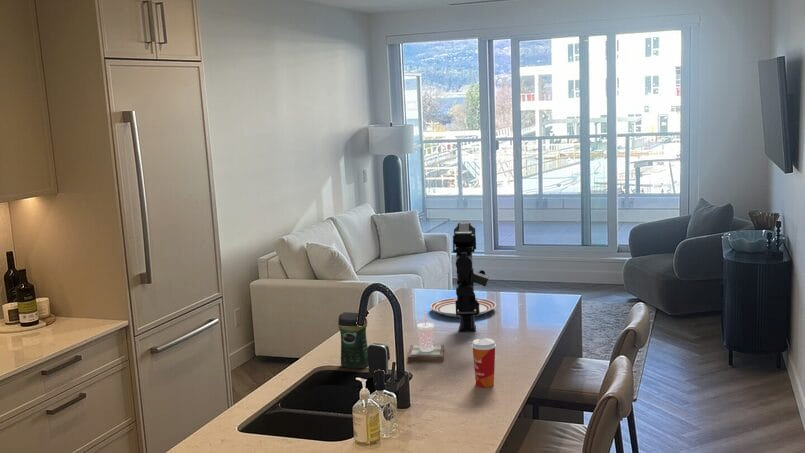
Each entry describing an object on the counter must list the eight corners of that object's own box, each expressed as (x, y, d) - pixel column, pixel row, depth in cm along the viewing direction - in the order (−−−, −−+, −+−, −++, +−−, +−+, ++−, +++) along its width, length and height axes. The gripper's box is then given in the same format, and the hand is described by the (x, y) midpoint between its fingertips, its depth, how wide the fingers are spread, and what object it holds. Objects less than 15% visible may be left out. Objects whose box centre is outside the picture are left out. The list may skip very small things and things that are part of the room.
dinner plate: (433, 303, 342) (433, 295, 341) (496, 302, 338) (496, 295, 337) (427, 321, 315) (427, 313, 314) (495, 321, 311) (495, 313, 311)
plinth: (410, 350, 280) (410, 344, 280) (444, 350, 279) (444, 344, 279) (408, 362, 268) (407, 356, 268) (443, 361, 267) (442, 355, 267)
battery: (392, 376, 256) (390, 343, 254) (386, 380, 252) (385, 347, 250) (373, 374, 259) (371, 341, 257) (368, 378, 255) (366, 344, 253)
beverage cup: (428, 345, 278) (426, 307, 275) (439, 349, 273) (437, 311, 270) (414, 349, 274) (412, 311, 272) (424, 353, 269) (423, 314, 267)
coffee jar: (372, 362, 270) (369, 310, 267) (363, 370, 263) (360, 317, 260) (347, 360, 274) (344, 308, 270) (337, 368, 266) (334, 315, 263)
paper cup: (470, 380, 249) (469, 338, 246) (494, 379, 249) (493, 337, 247) (475, 390, 241) (473, 346, 239) (499, 388, 242) (498, 344, 239)
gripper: (487, 271, 272) (488, 314, 275) (486, 259, 290) (487, 300, 293) (455, 272, 273) (456, 315, 276) (456, 260, 292) (458, 301, 294)
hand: (465, 307), depth 285 cm, fingers open, 9 cm apart
